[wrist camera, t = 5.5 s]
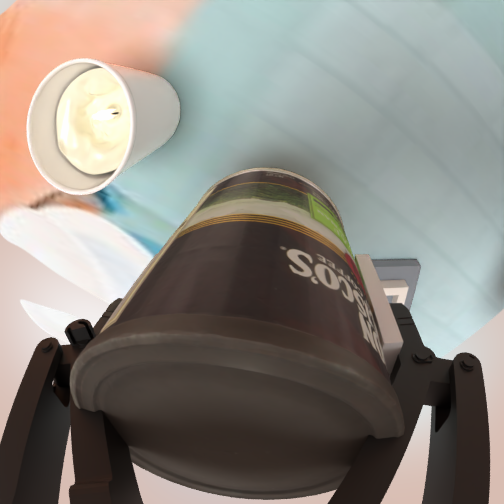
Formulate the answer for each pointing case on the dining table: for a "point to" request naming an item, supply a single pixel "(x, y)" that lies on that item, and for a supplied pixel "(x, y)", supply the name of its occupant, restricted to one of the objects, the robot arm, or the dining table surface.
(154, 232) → the dining table surface
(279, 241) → the coffee can
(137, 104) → the candle holder
